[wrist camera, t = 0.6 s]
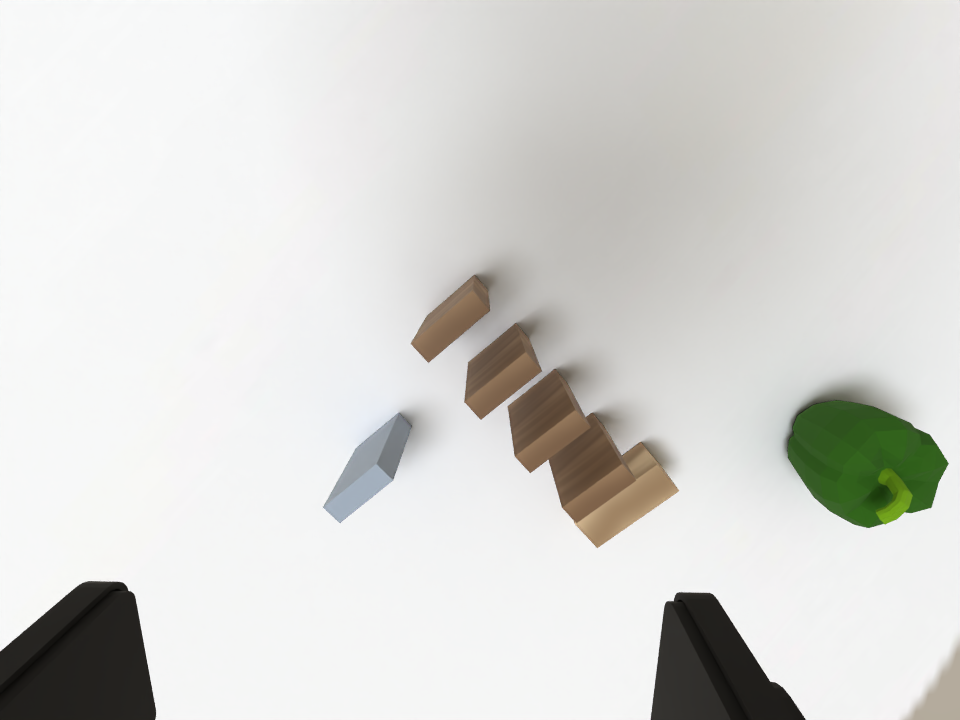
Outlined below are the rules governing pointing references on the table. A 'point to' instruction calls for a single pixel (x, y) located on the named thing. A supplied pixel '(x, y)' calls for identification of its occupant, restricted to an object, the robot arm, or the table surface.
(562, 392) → the walnut tile
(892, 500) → the bell pepper
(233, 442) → the table surface
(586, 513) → the walnut tile
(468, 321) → the walnut tile
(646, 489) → the oak end block
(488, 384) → the walnut tile
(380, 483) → the blue grey rectangular block
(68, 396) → the table surface
